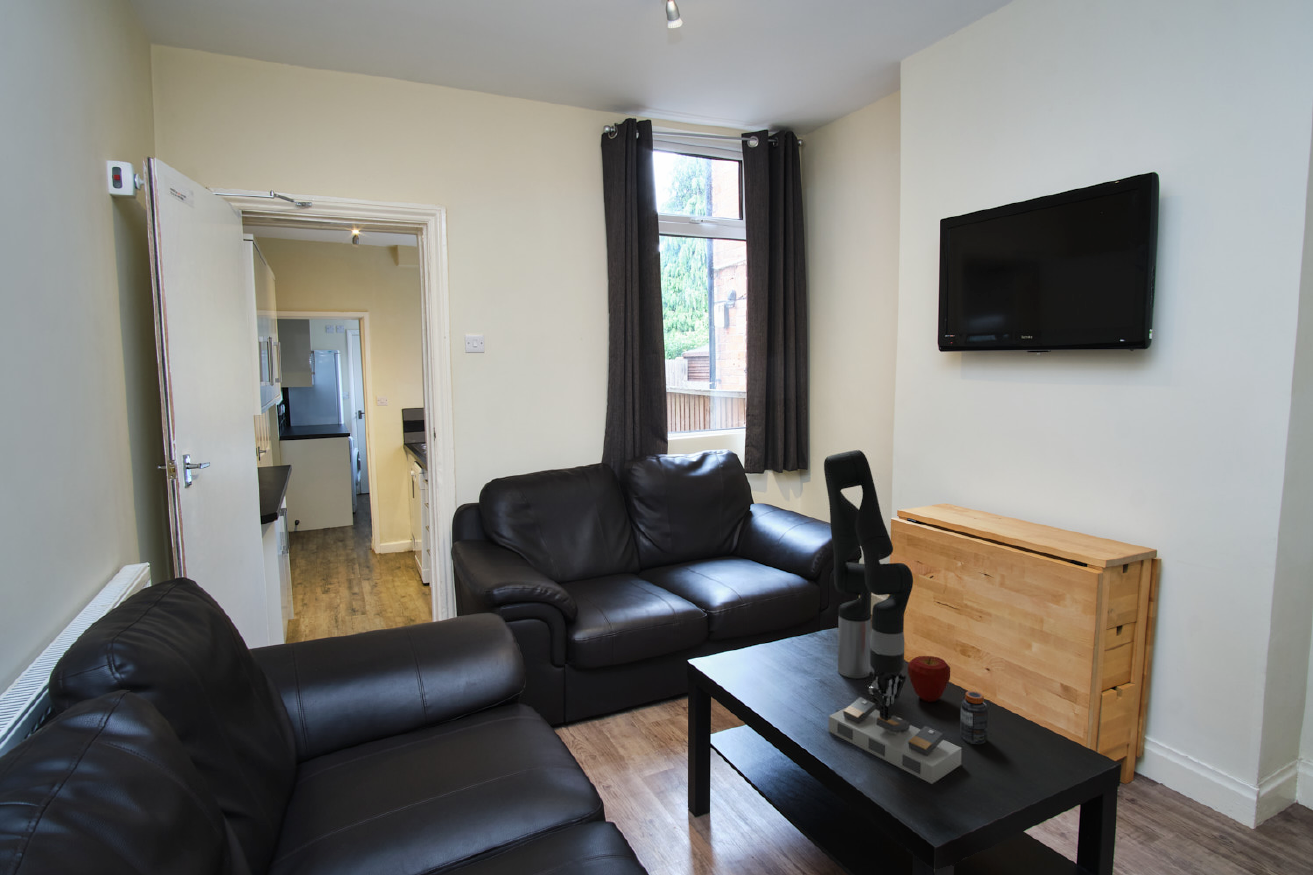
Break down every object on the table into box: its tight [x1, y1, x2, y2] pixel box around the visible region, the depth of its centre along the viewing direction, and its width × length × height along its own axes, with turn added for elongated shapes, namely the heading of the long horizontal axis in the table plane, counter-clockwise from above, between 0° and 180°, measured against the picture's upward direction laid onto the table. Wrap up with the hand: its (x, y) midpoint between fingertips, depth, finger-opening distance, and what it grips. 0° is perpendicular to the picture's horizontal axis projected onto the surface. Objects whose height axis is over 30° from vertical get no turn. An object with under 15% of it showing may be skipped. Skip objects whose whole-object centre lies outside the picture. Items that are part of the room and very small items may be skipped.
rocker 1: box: [843, 696, 877, 724], centre depth 170 cm, size 7×4×2 cm, turn 127°
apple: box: [907, 655, 951, 703], centre depth 187 cm, size 11×11×12 cm
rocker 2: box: [876, 715, 911, 732], centre depth 163 cm, size 7×4×2 cm, turn 127°
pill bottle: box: [959, 690, 989, 745], centre depth 166 cm, size 6×6×11 cm
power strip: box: [828, 707, 962, 785], centre depth 164 cm, size 12×30×4 cm, turn 37°
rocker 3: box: [908, 725, 944, 756], centre depth 156 cm, size 7×4×2 cm, turn 127°
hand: (885, 718), depth 161 cm, fingers closed
